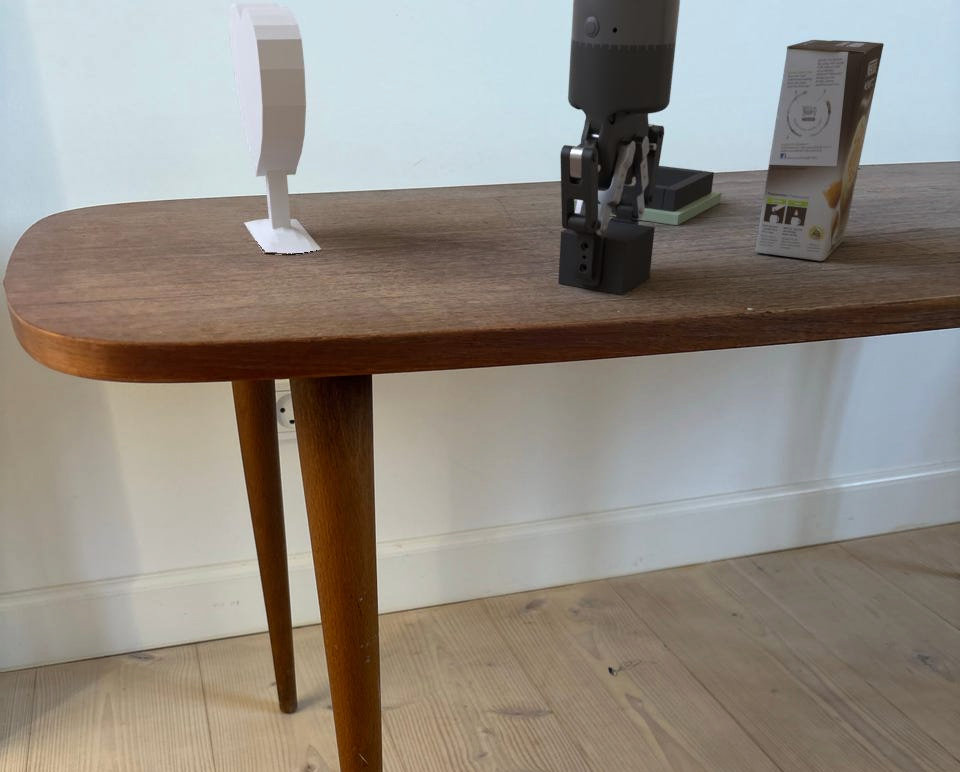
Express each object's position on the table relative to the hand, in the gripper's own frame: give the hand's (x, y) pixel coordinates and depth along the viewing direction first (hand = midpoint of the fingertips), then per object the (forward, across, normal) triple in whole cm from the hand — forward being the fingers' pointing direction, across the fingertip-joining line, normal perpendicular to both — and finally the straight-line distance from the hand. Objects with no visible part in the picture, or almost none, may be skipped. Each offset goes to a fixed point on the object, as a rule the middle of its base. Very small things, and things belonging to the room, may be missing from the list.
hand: (604, 273), depth 85 cm
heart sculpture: (+1, -3, +31) cm, 31 cm away
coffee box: (+1, +20, -10) cm, 22 cm away
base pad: (0, +27, +8) cm, 28 cm away
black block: (0, 0, 0) cm, 0 cm away
